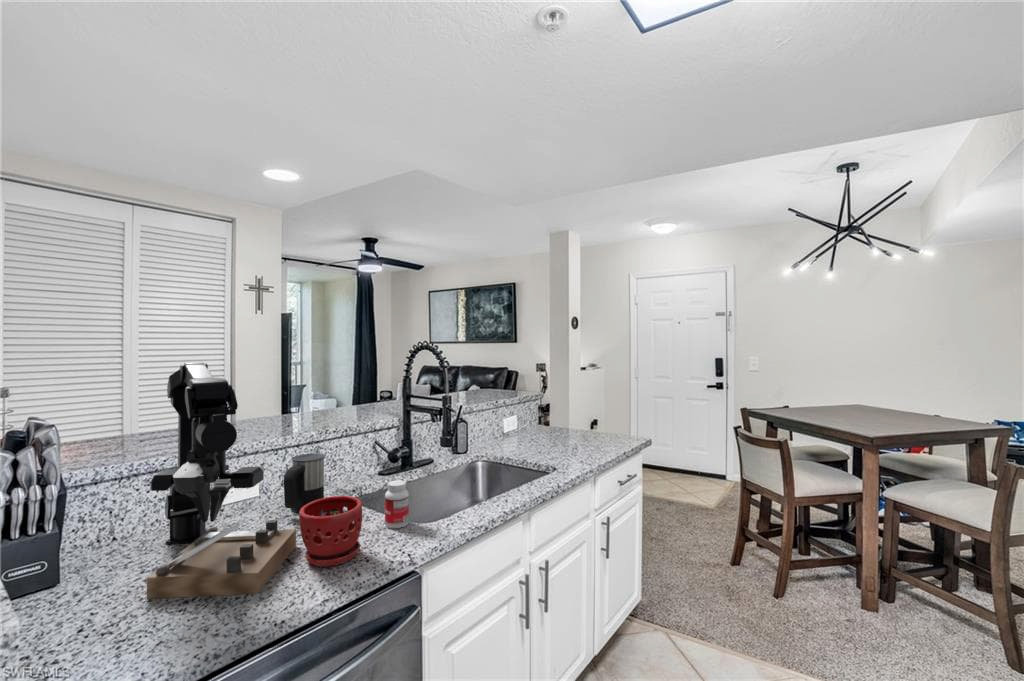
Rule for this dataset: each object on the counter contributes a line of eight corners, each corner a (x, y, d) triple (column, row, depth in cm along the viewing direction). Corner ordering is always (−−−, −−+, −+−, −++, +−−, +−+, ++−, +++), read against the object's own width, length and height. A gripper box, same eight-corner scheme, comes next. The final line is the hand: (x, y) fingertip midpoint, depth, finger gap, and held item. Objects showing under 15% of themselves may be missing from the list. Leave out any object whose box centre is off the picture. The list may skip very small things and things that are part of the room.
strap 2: (202, 541, 106) (202, 537, 106) (209, 535, 109) (209, 532, 109) (268, 538, 107) (268, 535, 107) (274, 533, 110) (274, 529, 110)
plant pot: (318, 543, 114) (318, 494, 114) (371, 546, 113) (371, 496, 113) (287, 570, 101) (287, 514, 101) (346, 573, 100) (346, 516, 100)
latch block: (146, 598, 90) (146, 564, 90) (206, 549, 111) (206, 521, 111) (258, 593, 92) (258, 559, 92) (295, 546, 113) (295, 518, 113)
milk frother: (297, 502, 143) (297, 453, 142) (351, 500, 144) (351, 451, 144) (279, 520, 128) (279, 465, 128) (339, 518, 130) (339, 464, 130)
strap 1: (167, 569, 93) (165, 566, 93) (176, 562, 96) (174, 558, 96) (233, 531, 94) (231, 527, 94) (240, 525, 97) (238, 521, 97)
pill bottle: (383, 521, 128) (384, 480, 128) (407, 518, 130) (407, 478, 130) (385, 530, 122) (386, 487, 122) (410, 527, 124) (410, 485, 124)
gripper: (130, 454, 86) (130, 540, 86) (239, 451, 88) (239, 536, 88) (168, 440, 97) (168, 517, 97) (264, 438, 99) (264, 513, 99)
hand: (209, 521), depth 95 cm, fingers closed
